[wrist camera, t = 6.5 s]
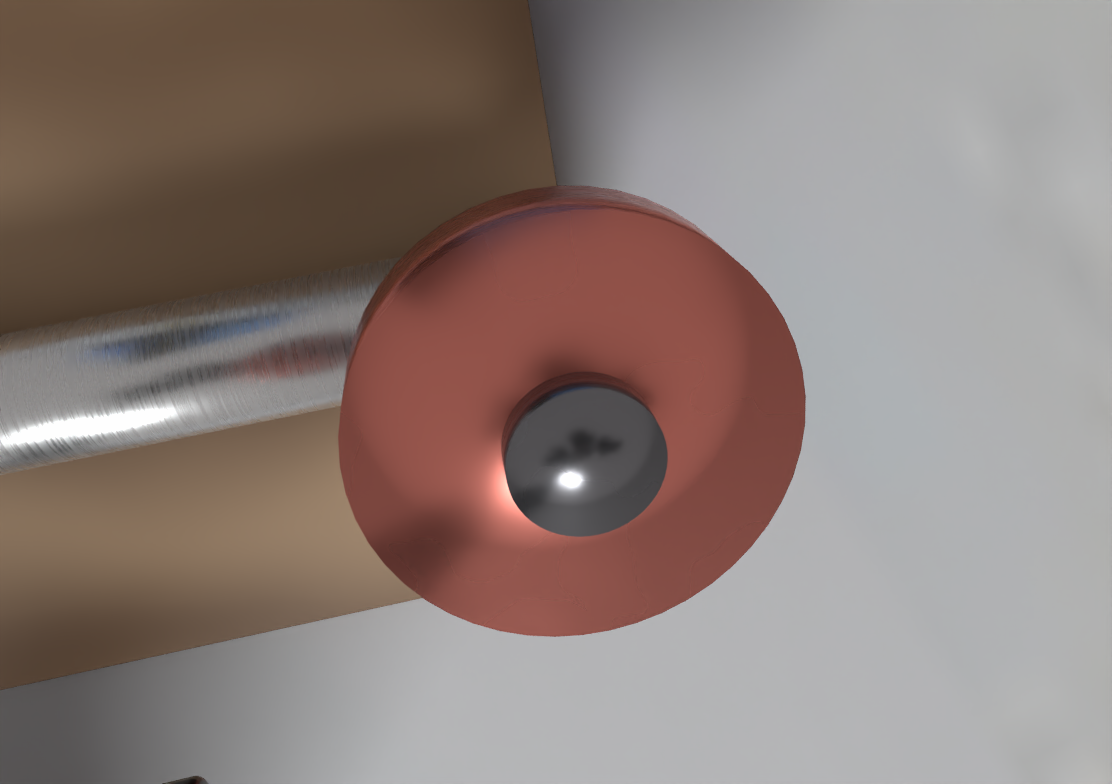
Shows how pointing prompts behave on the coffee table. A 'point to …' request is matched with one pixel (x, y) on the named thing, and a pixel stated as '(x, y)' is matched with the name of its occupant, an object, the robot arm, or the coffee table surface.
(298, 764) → the coffee table surface
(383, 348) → the silver and red piece
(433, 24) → the walnut board
